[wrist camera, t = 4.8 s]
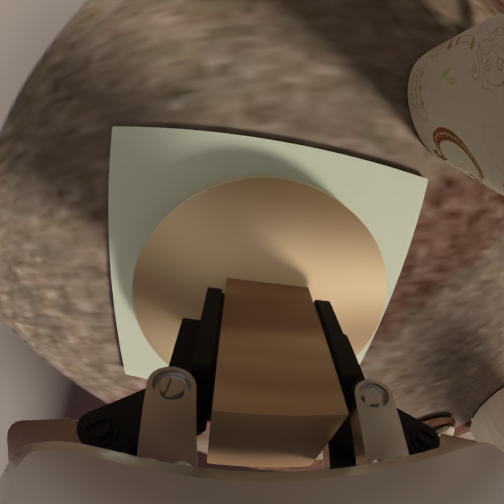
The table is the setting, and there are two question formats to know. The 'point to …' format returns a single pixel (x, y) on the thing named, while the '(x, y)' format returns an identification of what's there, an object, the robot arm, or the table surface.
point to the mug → (464, 102)
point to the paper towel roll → (490, 421)
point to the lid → (264, 308)
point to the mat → (228, 167)
